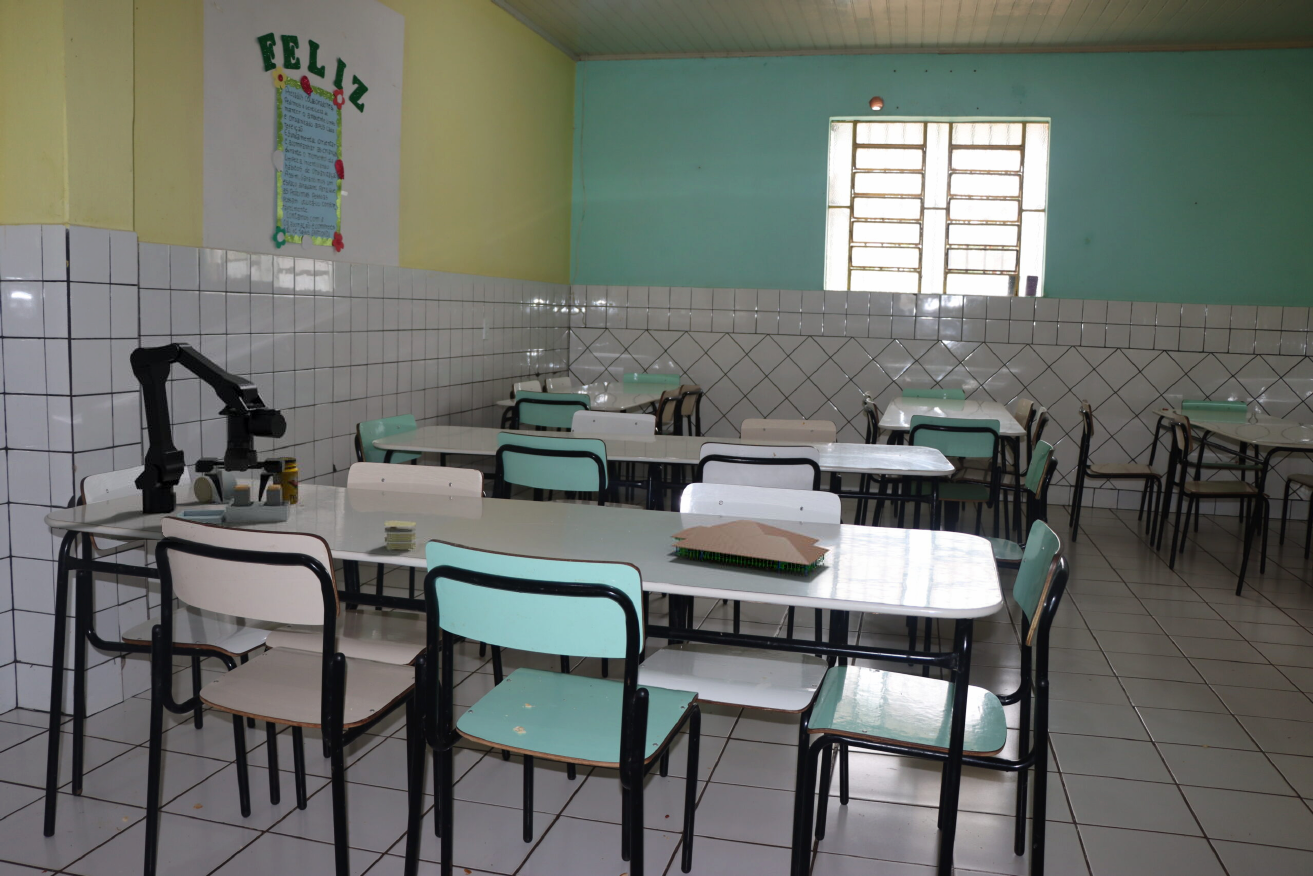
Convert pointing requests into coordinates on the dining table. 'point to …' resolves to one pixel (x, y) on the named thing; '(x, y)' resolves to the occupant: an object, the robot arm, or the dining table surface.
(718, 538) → the house
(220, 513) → the tray
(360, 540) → the dining table surface
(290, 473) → the condiment
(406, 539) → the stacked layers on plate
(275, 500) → the twin plug
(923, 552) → the dining table surface
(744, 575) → the dining table surface
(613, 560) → the dining table surface
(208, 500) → the ceramic mug
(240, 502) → the plug
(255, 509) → the grey socket block
